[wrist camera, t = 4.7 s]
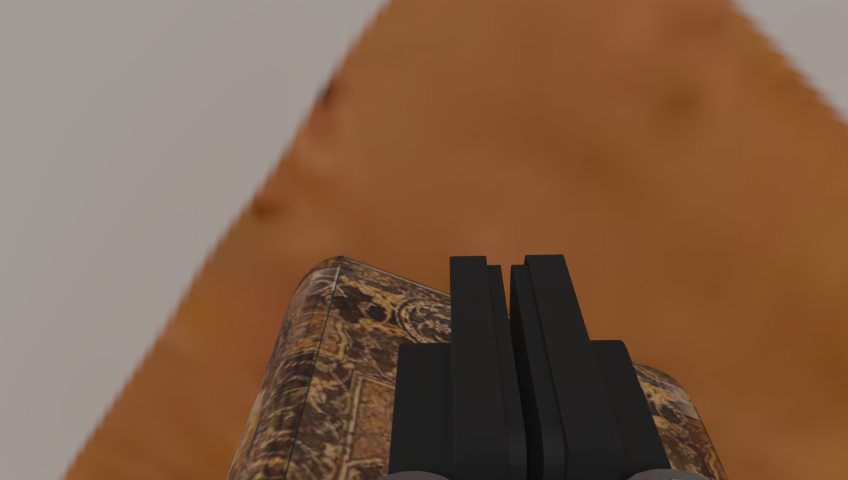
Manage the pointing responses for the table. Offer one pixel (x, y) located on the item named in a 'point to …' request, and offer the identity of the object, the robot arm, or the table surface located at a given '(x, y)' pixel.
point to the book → (384, 381)
